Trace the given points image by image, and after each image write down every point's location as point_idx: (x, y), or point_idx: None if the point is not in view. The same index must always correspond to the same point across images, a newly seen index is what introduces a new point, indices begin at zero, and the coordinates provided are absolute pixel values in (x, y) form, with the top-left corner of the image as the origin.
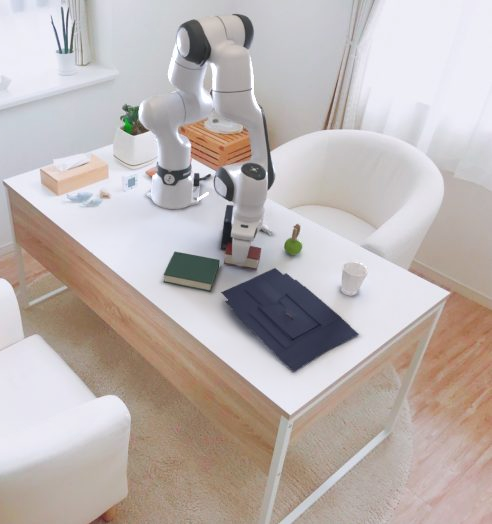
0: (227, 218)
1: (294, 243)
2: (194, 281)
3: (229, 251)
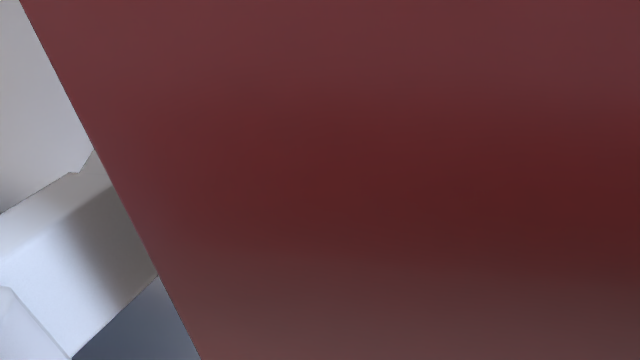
0: None
1: None
2: None
3: (174, 3)
